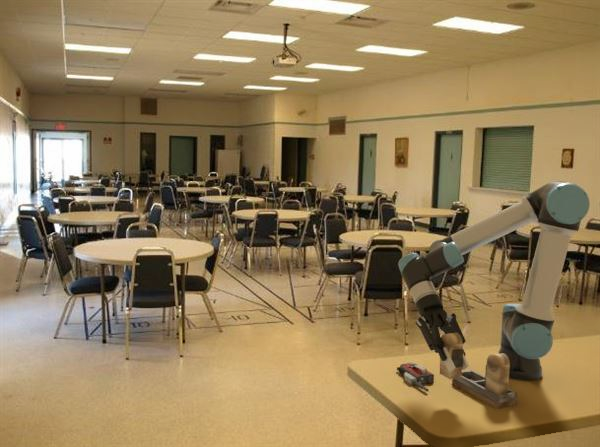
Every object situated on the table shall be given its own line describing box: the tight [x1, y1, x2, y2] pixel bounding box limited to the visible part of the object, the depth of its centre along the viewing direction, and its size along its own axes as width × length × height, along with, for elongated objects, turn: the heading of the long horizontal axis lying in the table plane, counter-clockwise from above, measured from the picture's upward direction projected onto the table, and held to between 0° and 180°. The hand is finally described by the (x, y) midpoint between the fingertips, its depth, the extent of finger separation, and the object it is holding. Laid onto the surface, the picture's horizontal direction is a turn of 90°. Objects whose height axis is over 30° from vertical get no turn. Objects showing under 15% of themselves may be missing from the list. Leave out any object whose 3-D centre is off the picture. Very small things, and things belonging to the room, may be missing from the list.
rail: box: [451, 353, 519, 409], centre depth 183 cm, size 8×20×14 cm, turn 23°
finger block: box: [439, 333, 464, 380], centre depth 176 cm, size 4×6×12 cm
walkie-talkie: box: [396, 362, 435, 392], centre depth 193 cm, size 9×4×20 cm
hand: (459, 368), depth 173 cm, fingers closed on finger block, 4 cm apart
